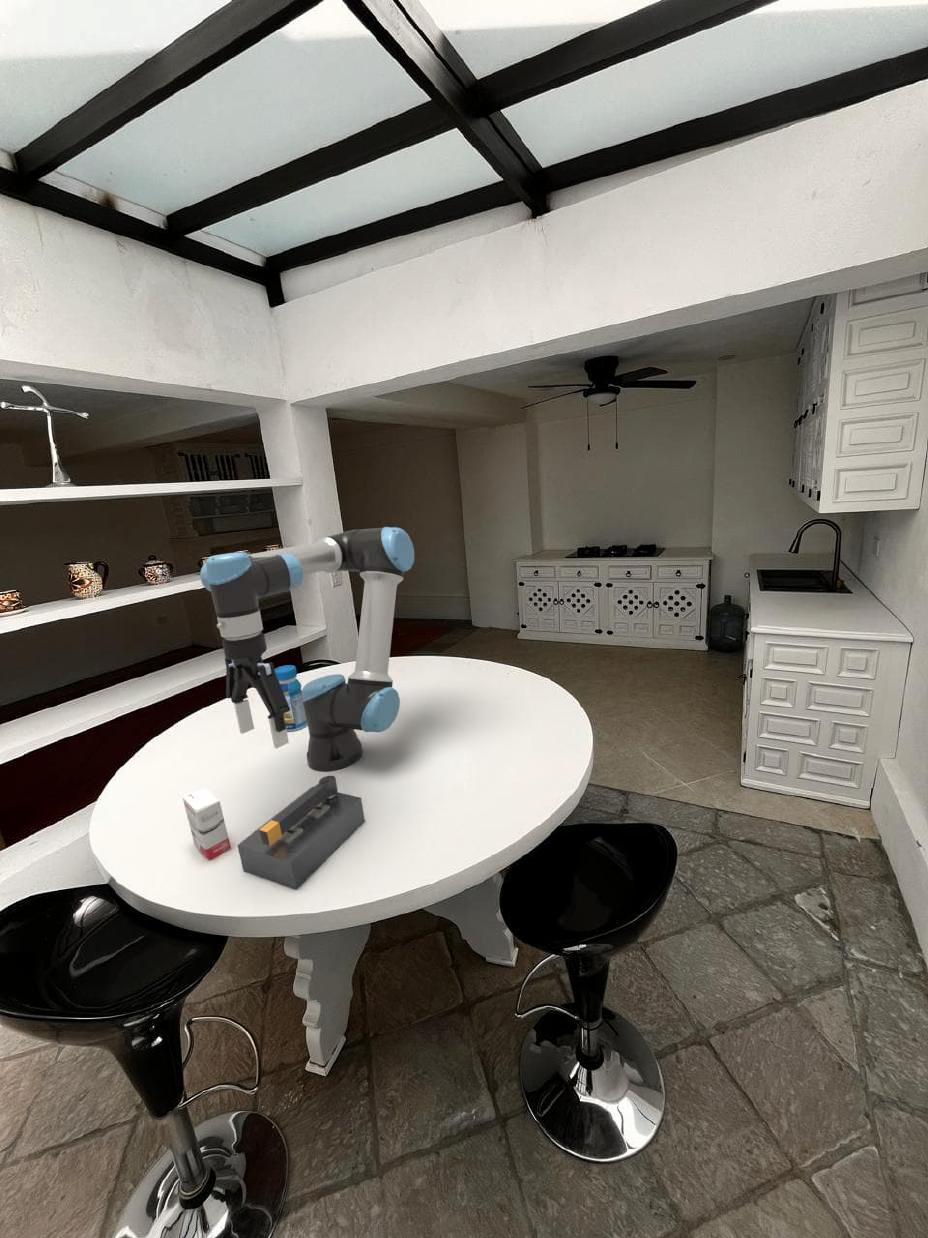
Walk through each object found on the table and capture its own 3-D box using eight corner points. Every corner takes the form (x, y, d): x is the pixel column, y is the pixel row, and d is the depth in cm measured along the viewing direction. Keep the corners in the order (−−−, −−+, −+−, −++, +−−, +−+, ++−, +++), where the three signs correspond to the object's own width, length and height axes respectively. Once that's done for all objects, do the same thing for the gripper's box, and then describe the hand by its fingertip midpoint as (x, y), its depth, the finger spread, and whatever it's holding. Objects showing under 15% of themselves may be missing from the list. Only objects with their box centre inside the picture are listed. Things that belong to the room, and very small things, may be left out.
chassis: (243, 871, 99) (236, 841, 98) (316, 809, 117) (311, 783, 116) (296, 890, 93) (289, 858, 91) (364, 821, 111) (360, 794, 109)
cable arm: (259, 842, 96) (256, 829, 95) (328, 786, 113) (326, 774, 112) (272, 847, 94) (269, 833, 94) (341, 789, 112) (338, 777, 111)
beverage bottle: (309, 728, 161) (299, 669, 156) (282, 734, 158) (270, 675, 153) (307, 718, 168) (297, 662, 164) (281, 724, 166) (269, 667, 161)
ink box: (232, 848, 107) (220, 799, 104) (208, 861, 103) (195, 811, 100) (216, 832, 112) (205, 785, 109) (193, 844, 109) (180, 797, 106)
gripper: (193, 634, 100) (216, 732, 105) (258, 648, 85) (281, 761, 91) (229, 624, 106) (249, 718, 111) (296, 636, 91) (315, 743, 96)
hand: (263, 738), depth 101 cm, fingers open, 12 cm apart
